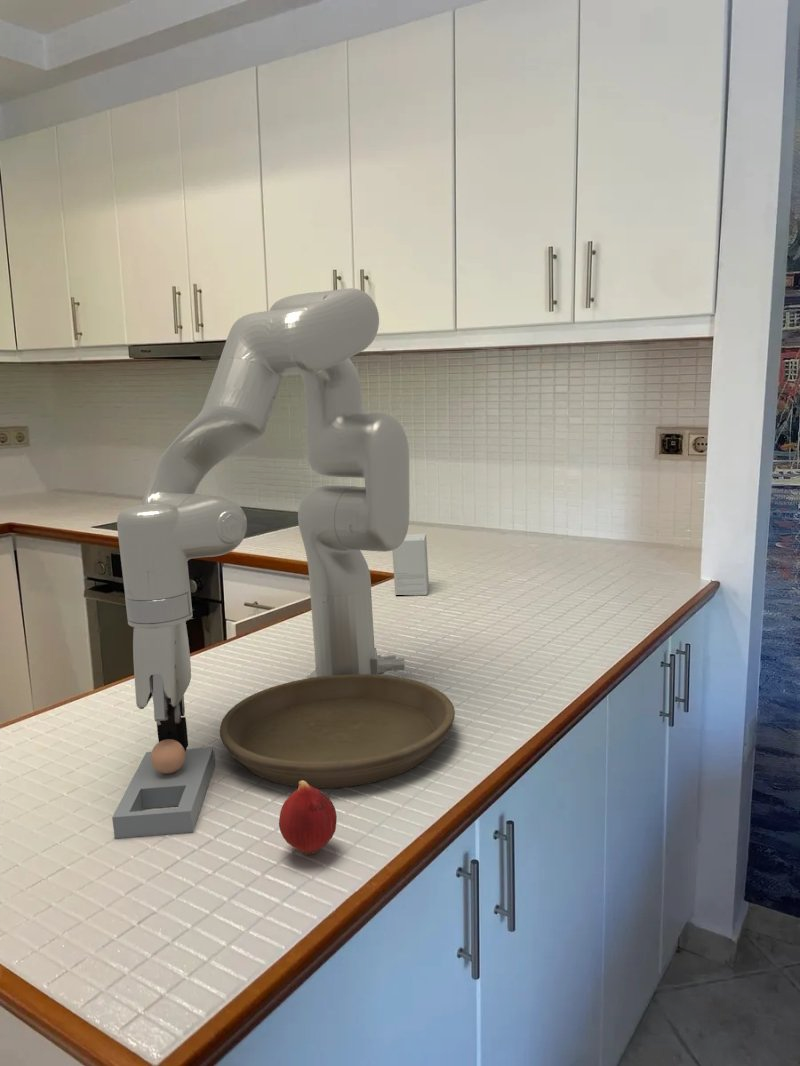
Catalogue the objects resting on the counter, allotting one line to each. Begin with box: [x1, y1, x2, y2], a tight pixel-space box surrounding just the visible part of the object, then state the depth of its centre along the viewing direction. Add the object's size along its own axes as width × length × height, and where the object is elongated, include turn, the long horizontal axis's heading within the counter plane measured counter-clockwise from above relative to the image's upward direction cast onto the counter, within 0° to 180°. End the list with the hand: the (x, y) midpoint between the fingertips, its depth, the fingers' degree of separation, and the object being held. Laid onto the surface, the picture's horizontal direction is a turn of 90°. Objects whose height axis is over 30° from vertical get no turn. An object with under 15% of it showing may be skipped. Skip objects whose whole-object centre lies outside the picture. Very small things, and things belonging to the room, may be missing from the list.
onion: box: [278, 781, 338, 856], centre depth 85 cm, size 6×6×8 cm
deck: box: [111, 746, 216, 839], centre depth 98 cm, size 8×16×2 cm, turn 4°
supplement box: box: [391, 533, 430, 596], centre depth 186 cm, size 7×7×13 cm
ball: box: [150, 739, 185, 774], centre depth 99 cm, size 4×4×4 cm
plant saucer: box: [219, 674, 456, 789], centre depth 111 cm, size 31×31×5 cm
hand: (174, 750), depth 103 cm, fingers closed
